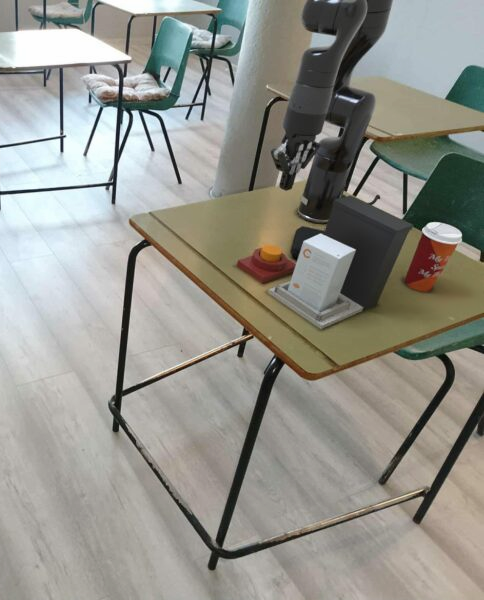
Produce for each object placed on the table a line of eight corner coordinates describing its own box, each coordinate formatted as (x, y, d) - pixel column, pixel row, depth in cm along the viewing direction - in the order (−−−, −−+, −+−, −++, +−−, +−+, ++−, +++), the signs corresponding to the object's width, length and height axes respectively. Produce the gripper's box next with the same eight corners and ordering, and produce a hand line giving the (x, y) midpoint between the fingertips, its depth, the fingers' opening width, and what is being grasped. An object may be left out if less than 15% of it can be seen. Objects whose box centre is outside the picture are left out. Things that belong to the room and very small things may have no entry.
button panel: (270, 255, 134) (273, 242, 132) (296, 271, 128) (300, 258, 126) (236, 266, 129) (239, 253, 127) (262, 284, 123) (266, 270, 121)
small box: (335, 304, 117) (357, 249, 109) (318, 314, 114) (340, 258, 106) (302, 285, 122) (320, 232, 114) (284, 295, 118) (302, 240, 111)
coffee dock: (322, 271, 129) (350, 195, 118) (377, 305, 120) (413, 224, 109) (267, 292, 121) (291, 211, 110) (321, 329, 111) (354, 245, 100)
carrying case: (335, 271, 130) (338, 243, 141) (339, 260, 128) (342, 232, 139) (287, 259, 133) (294, 233, 144) (291, 248, 131) (298, 222, 142)
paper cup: (419, 297, 123) (447, 240, 115) (391, 278, 129) (416, 223, 121) (444, 290, 126) (473, 235, 118) (416, 272, 132) (441, 218, 124)
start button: (269, 250, 129) (271, 242, 128) (284, 259, 126) (286, 251, 125) (255, 255, 127) (257, 247, 126) (270, 264, 124) (272, 256, 123)
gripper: (300, 117, 105) (277, 202, 115) (345, 107, 111) (319, 189, 121) (269, 105, 110) (250, 188, 120) (314, 97, 116) (292, 176, 126)
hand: (285, 188), depth 121 cm, fingers closed
